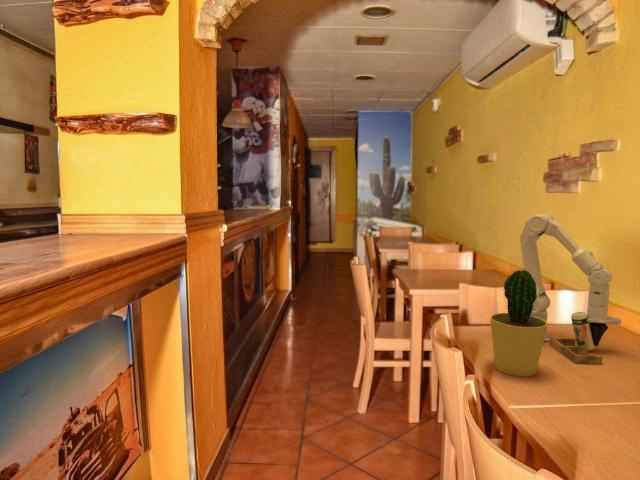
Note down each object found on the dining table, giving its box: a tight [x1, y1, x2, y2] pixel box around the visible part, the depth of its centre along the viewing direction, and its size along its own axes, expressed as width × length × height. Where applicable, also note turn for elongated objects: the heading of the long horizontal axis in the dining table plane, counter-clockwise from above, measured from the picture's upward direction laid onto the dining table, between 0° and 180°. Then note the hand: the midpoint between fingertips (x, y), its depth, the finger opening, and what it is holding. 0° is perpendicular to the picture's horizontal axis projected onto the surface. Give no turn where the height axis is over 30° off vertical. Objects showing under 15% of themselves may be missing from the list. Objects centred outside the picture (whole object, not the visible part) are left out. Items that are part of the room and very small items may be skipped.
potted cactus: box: [489, 268, 549, 377], centre depth 134 cm, size 15×15×30 cm
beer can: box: [570, 311, 595, 352], centre depth 152 cm, size 5×5×12 cm
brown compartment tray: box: [549, 337, 604, 365], centre depth 149 cm, size 8×17×2 cm, turn 178°
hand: (594, 345), depth 152 cm, fingers closed
